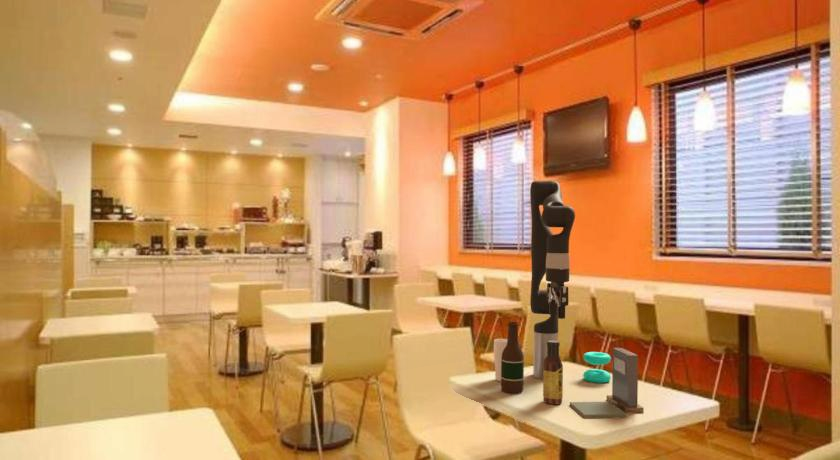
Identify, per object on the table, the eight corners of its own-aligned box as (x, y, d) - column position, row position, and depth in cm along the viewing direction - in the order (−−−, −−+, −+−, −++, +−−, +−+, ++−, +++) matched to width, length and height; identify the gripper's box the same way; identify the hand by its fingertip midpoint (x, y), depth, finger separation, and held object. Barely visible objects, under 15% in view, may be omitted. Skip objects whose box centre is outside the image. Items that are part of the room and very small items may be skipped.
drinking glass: (512, 382, 217) (513, 342, 217) (494, 382, 217) (494, 341, 217) (510, 378, 224) (510, 338, 224) (492, 377, 224) (492, 338, 224)
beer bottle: (509, 386, 211) (510, 319, 211) (528, 391, 205) (528, 322, 205) (496, 390, 205) (497, 322, 205) (514, 395, 200) (515, 324, 200)
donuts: (609, 352, 226) (612, 357, 216) (609, 378, 226) (611, 384, 216) (582, 350, 228) (583, 355, 219) (582, 376, 228) (583, 382, 219)
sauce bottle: (562, 405, 188) (563, 343, 188) (542, 404, 190) (543, 342, 190) (562, 400, 195) (562, 340, 195) (542, 398, 196) (543, 339, 196)
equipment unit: (606, 399, 196) (607, 347, 196) (623, 399, 196) (624, 347, 196) (624, 412, 182) (625, 356, 182) (643, 412, 182) (644, 356, 182)
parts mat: (569, 405, 189) (569, 402, 189) (608, 404, 190) (608, 401, 190) (584, 417, 176) (584, 414, 176) (626, 417, 177) (626, 414, 177)
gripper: (539, 265, 199) (539, 313, 199) (553, 268, 185) (552, 319, 185) (561, 265, 200) (560, 313, 200) (576, 268, 186) (576, 319, 185)
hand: (556, 316), depth 192 cm, fingers open, 8 cm apart
